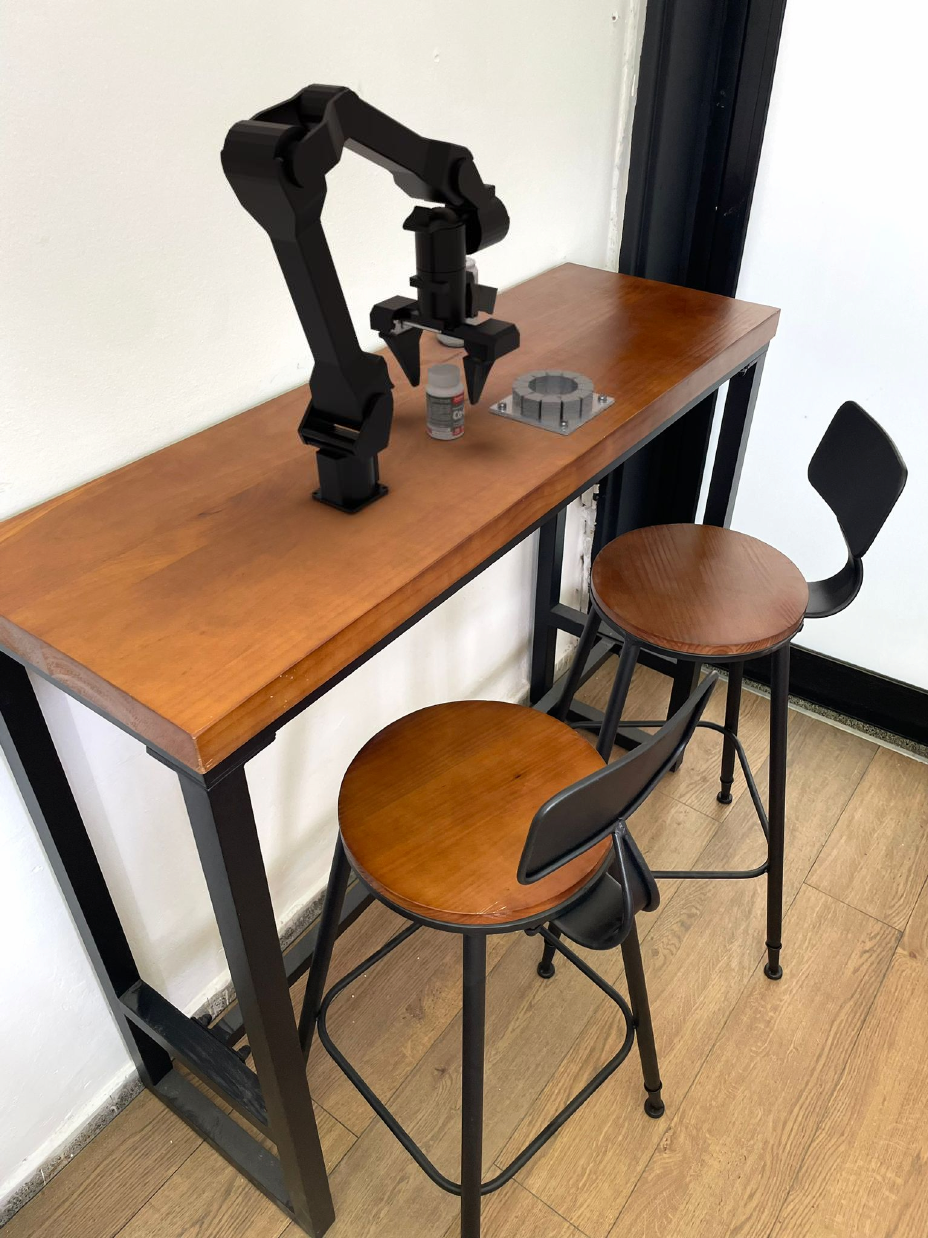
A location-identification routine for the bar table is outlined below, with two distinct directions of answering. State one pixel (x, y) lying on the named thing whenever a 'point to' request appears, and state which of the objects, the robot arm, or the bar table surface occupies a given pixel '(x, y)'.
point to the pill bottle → (445, 402)
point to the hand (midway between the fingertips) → (444, 394)
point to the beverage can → (458, 342)
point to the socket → (552, 400)
